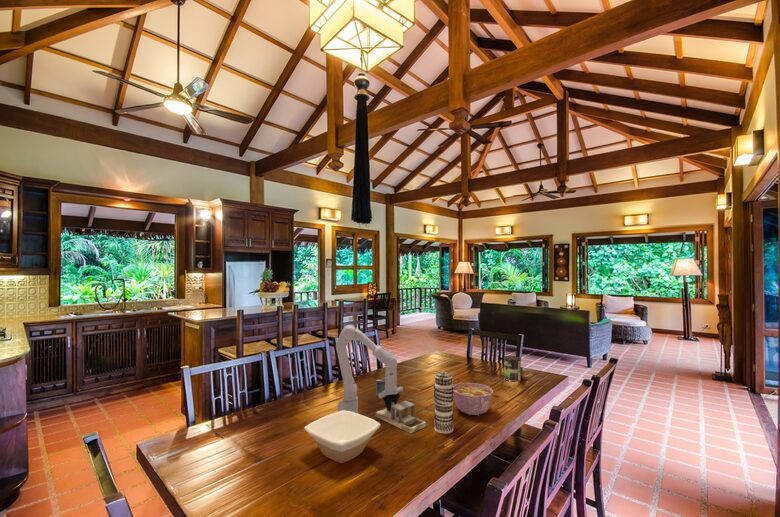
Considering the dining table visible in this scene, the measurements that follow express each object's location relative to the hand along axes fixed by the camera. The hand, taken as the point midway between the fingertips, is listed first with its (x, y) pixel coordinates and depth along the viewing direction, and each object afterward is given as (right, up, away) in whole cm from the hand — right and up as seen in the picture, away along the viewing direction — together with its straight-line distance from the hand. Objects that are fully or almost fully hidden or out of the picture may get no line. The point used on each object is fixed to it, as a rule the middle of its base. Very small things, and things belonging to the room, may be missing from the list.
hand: (391, 409), depth 171 cm
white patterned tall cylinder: (+24, -4, -13) cm, 27 cm away
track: (+4, -4, -5) cm, 7 cm away
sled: (+4, -1, -4) cm, 6 cm away
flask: (-4, -5, +27) cm, 27 cm away
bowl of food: (+41, -4, +5) cm, 41 cm away
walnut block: (+5, -1, -6) cm, 8 cm away
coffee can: (+79, -5, +57) cm, 98 cm away
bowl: (-19, -3, -33) cm, 38 cm away
